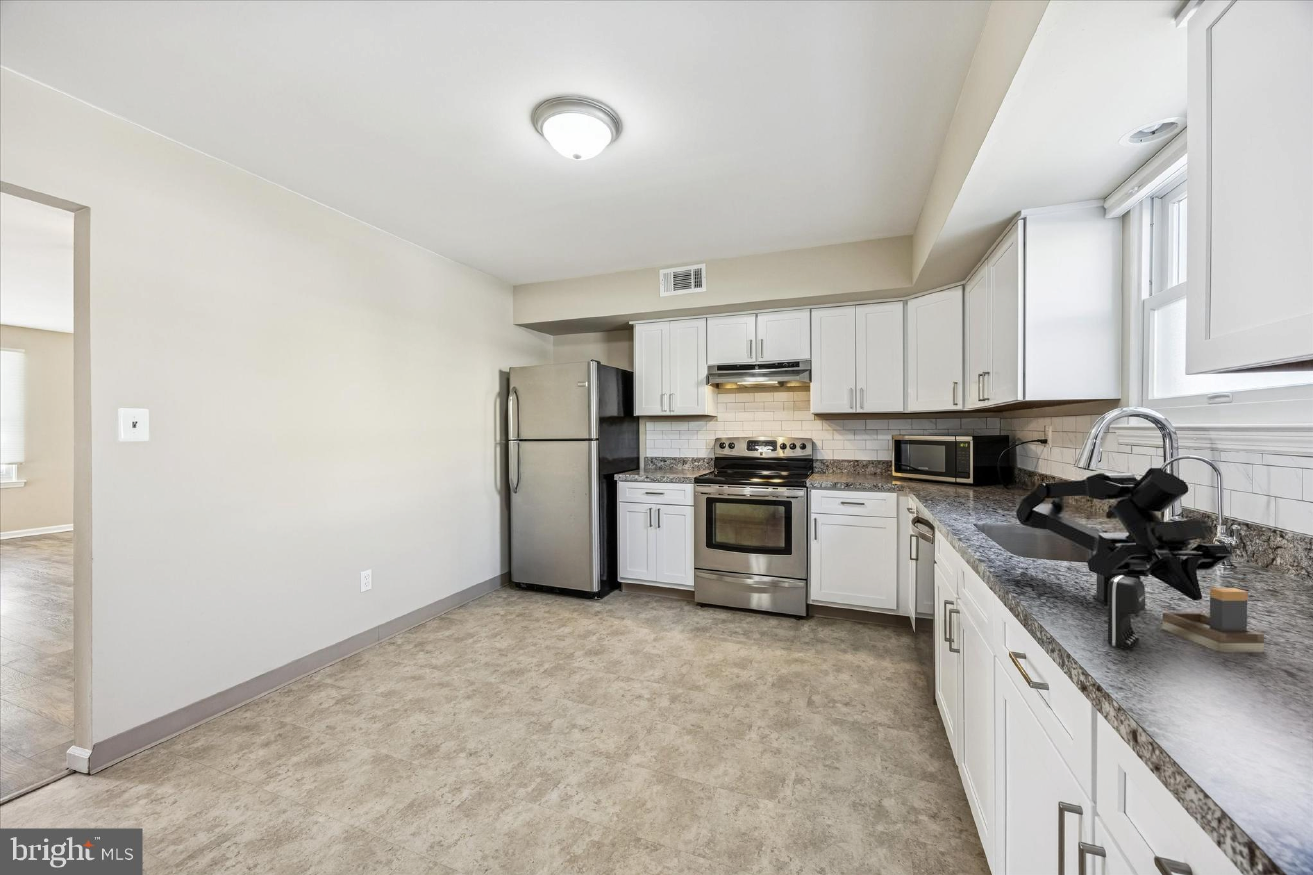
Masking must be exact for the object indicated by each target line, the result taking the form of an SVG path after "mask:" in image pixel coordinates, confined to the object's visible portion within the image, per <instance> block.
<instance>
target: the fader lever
mask: <svg viewBox="0 0 1313 875" xmlns="http://www.w3.org/2000/svg"><path fill="white" fill-rule="evenodd" d="M1209 615H1210V628H1211V629H1214V630H1216V631H1219V632H1247V628H1248V591H1246V590H1243V589H1240V588H1237V587H1210V588H1209Z"/></svg>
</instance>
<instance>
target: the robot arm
mask: <svg viewBox="0 0 1313 875" xmlns="http://www.w3.org/2000/svg"><path fill="white" fill-rule="evenodd" d="M1188 492H1189V485H1188V484H1187V483H1186V481H1185V480H1184V479H1181V478H1179V477H1178V476H1176V475H1174V474H1172V473H1169V472H1166V471H1165V470H1164V469H1163V468H1162V467H1149V468H1148V470H1146V471H1145V473H1144V474H1143V476H1142V477H1140V478H1139V479H1138V478H1137V477H1136V476H1135V474H1134V473H1131V472H1098V473H1095V474H1092V475H1089V476H1087V477H1086V478H1085V479H1080V480H1078V479H1077V480H1069V481H1068V480H1066V481H1045V482H1044V481H1042V482H1039V483H1038V485H1037V486H1036V487H1035V489H1034V490H1033V491H1032V492H1030V493H1029V494H1028V495H1027V496H1025V497H1024V498H1022V500H1021V502H1020V504H1019V505H1018V507H1017V509H1016V512H1015V514H1016V518H1017V520H1018V521H1019V523H1020V524H1021V525H1022V526H1024V527H1027V528H1032V529H1037V530H1045V531H1048V532H1051V533H1053V534H1054V535H1056V536H1059V537H1061V538H1063V539H1065V540H1067V541H1069V542H1071V543H1073V544H1075V545H1077V546H1079V547H1081V548H1084V549H1085V550H1087V551H1089V552H1092V554H1093V555H1092V556H1091V557H1090V558H1089V559H1088V560H1087V561H1086V563H1087V568H1088V571H1089V572H1091V573H1093V574H1096V593H1095V594H1092V596H1091V597H1092V598H1093V599H1095V600H1097V601H1098V602H1100V603H1102V604H1104V605H1105V606H1107V607H1108V584H1109V581H1110V580H1111V579H1112V578H1113V577H1115V576H1117V575H1120V576H1121V575H1123V576H1126V577H1132V578H1137V579H1139V580H1141V577H1145V578H1149V576H1152V577H1154V578H1155V579H1157V580H1159V581H1160V582H1162V583H1164V584H1166V585H1168V587H1169V586H1170V587H1171V588H1173V589H1174V590H1176V591H1178V592H1179V593H1180V594H1182V595H1184V596H1186V597H1187V598H1189V599H1190V600H1192V601H1194V602H1197V601H1198V602H1199V601H1201V600H1202V599H1203V595H1202V591H1201V586H1200V583H1199V579H1198V574H1197V573H1198V572H1197V571H1199V572H1200V571H1211V570H1212V569H1214V568H1216V567H1217V566H1219V565H1220V564H1222V563H1223V562H1225V561H1226V560H1228V559H1229V558H1231V557H1233V554H1232V552H1231V551H1230V550H1229V549H1228V548H1227V546H1226V545H1225V544H1220V543H1198V544H1197V545H1195V546H1193V548H1191V549H1190V550H1184V548H1187V547H1189V546H1190V545H1191V544H1192V543H1191V542H1190V541H1194V540H1198V539H1207V538H1208V535H1210V534H1213V528H1212V525H1211V524H1210V522H1208V521H1207V519H1205V518H1204V516H1203V517H1202V516H1198V517H1197V516H1195V517H1192V518H1187V519H1185V520H1184V519H1182V520H1181V519H1180V520H1174V521H1163V520H1162V519H1161V518H1160V516H1159V515H1158V514H1157V513H1156V512H1158V513H1161V512H1165V511H1167V510H1168V509H1169V508H1171V507H1172V506H1173V505H1174V504H1175V503H1176V502H1178V501H1179V500H1180V499H1181V498H1183V497H1184V496H1185V495H1186V494H1187V493H1188ZM1075 497H1078V498H1079V497H1088V498H1089V499H1093V500H1098V501H1099V500H1100V501H1117V502H1116V503H1115V504H1113V505H1108V509H1107V511H1106V514H1105V517H1106V519H1118V521H1119V522H1120V524H1121V525H1122V526H1123V528H1124V529H1125V530H1126V532H1101V531H1099V530H1096V529H1094V528H1092V527H1090V526H1087V525H1085V524H1082V523H1080V522H1078V521H1076V520H1073V519H1071V518H1069V517H1067V516H1064V515H1063V512H1064V510H1065V507H1064V506H1065V505H1064V499H1065V498H1075ZM1047 499H1053V500H1052V501H1051V503H1049V502H1048V503H1046V502H1045V500H1047ZM1044 502H1045V503H1044ZM1144 609H1146V607H1145V608H1144ZM1144 609H1143V610H1144Z"/></svg>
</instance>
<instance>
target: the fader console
mask: <svg viewBox="0 0 1313 875" xmlns="http://www.w3.org/2000/svg"><path fill="white" fill-rule="evenodd" d="M1162 630H1165V631H1168V632H1169V633H1172V634H1174V635H1176V636H1180V637H1182V638H1184V639H1187V640H1189V641H1192V642H1194V643H1196V644H1200V645H1201V644H1202V646H1204V645H1205V646H1204V647H1206V648H1208V647H1210V648H1209V649H1211V648H1212V649H1211V650H1213V649H1215V650H1214V651H1216V650H1217V651H1216V652H1218V651H1220V652H1219V653H1226V652H1225V651H1231V652H1230V653H1264V650H1265V649H1264V648H1265V647H1264V645H1265V641H1264V640H1265V638H1264V637H1265V634H1264V633H1261V632H1259V631H1255V630H1253V629H1249V628H1248V627H1247V632H1219V631H1216V630H1214V629H1211V628H1210V614H1207V613H1205V612H1198V611H1197V612H1162Z"/></svg>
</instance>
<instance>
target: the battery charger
mask: <svg viewBox="0 0 1313 875" xmlns="http://www.w3.org/2000/svg"><path fill="white" fill-rule="evenodd" d="M1144 608H1145V609H1146V589H1145V584H1144V582H1143V581H1142V580H1141V579H1140V580H1139V579H1137V578H1132V577H1126V576H1123V575H1121V576H1120V575H1117V576H1115V577H1113V578H1112V579H1111V580H1110V581H1109V584H1108V606H1107V644H1108V645H1109V646H1112V647H1115V648H1117V647H1118V648H1121V649H1126V650H1133V649H1134V648H1135V647H1136V646H1137V645H1138V644H1139V643H1140V640H1141V638H1140V637H1139V636H1137V634H1136V632H1135V631H1134V629H1133V627H1132V618H1131V617H1132V616H1134V615H1136V616H1137V615H1138V614H1139V613H1141V612H1142V611H1143V610H1144Z"/></svg>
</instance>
